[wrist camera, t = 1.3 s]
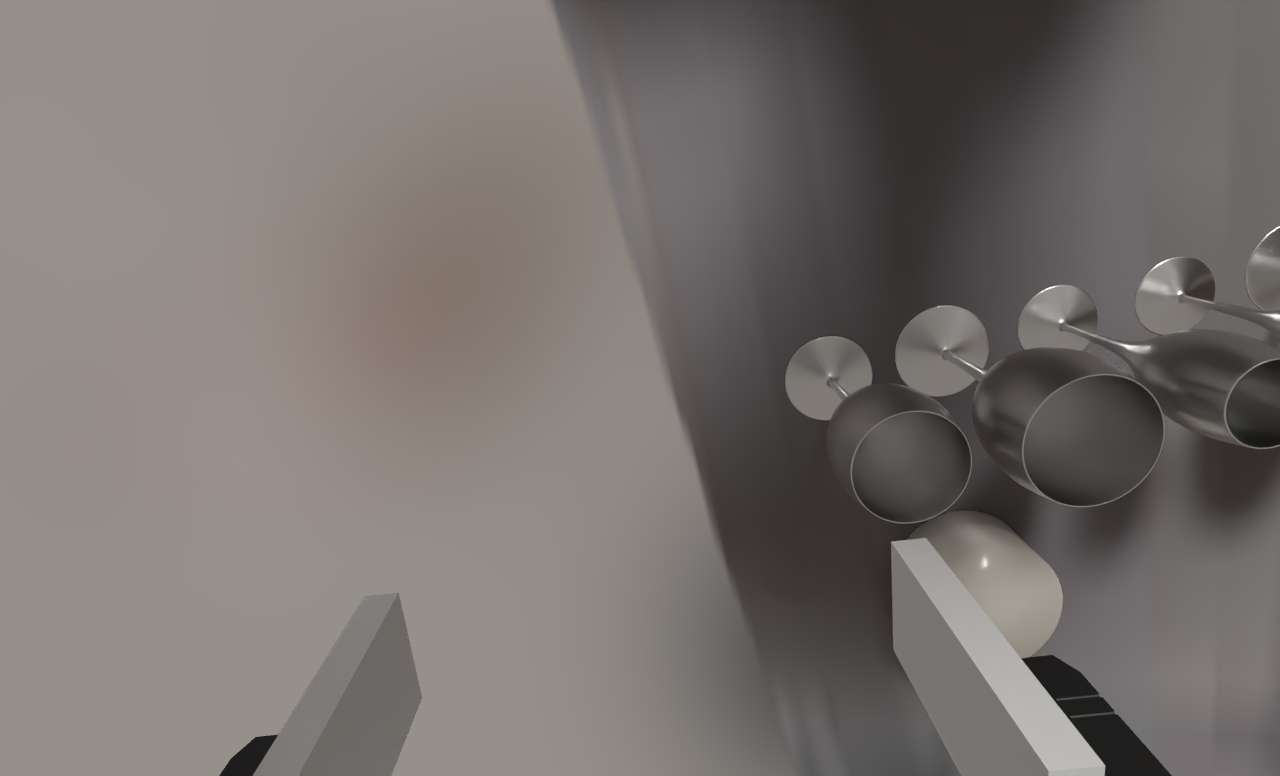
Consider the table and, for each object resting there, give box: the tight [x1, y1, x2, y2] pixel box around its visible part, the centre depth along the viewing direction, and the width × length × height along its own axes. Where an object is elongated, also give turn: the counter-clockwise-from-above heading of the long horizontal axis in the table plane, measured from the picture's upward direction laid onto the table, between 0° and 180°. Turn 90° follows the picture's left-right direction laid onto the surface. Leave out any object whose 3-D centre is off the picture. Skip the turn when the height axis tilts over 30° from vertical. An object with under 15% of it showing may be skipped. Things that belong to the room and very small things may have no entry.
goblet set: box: [785, 225, 1280, 524], centre depth 31 cm, size 28×6×13 cm, turn 104°
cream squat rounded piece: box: [906, 510, 1063, 658], centre depth 40 cm, size 7×7×4 cm
